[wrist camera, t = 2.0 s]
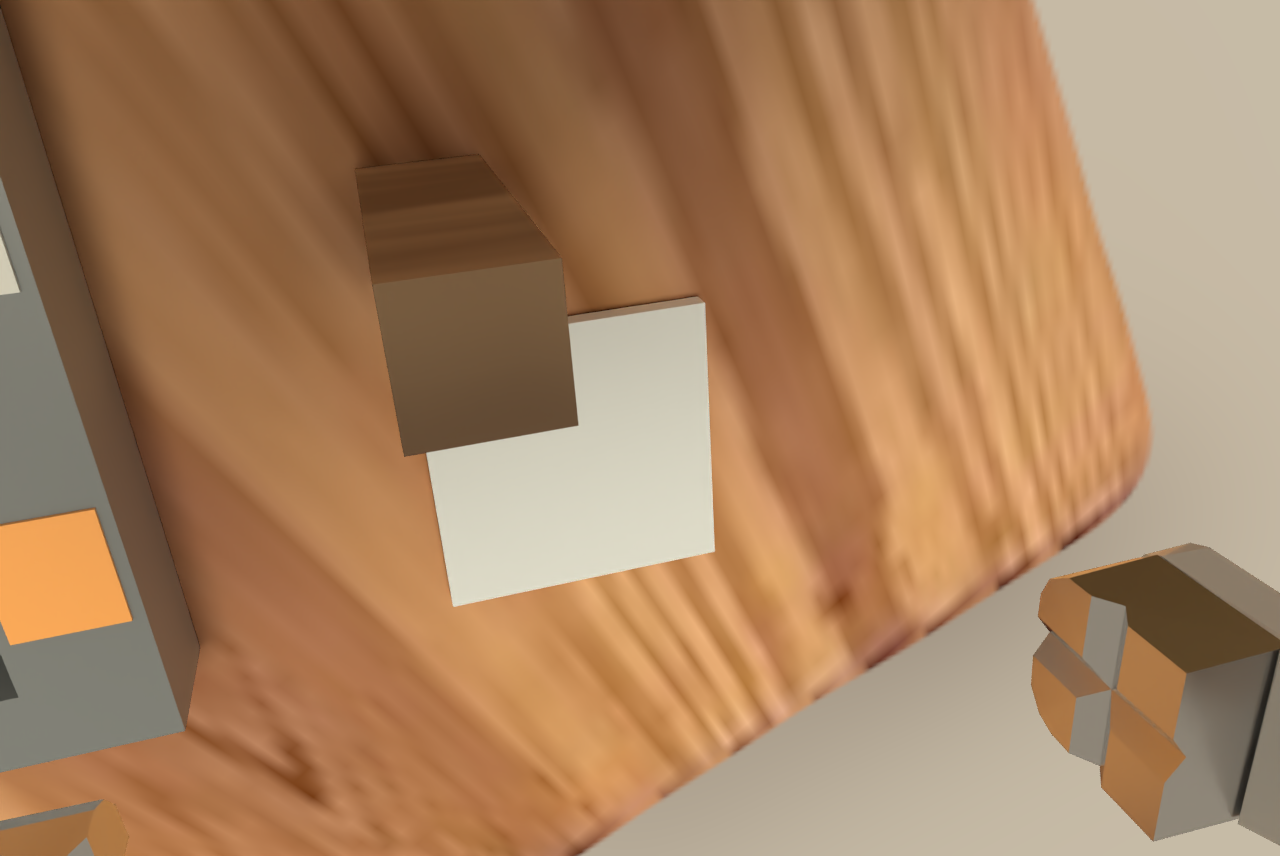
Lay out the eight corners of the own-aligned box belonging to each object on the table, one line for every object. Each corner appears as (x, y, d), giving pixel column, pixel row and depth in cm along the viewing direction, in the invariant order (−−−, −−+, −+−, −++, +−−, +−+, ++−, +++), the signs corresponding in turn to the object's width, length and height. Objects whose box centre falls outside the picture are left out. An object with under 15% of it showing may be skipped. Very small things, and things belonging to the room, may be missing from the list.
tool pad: (406, 341, 27) (408, 348, 26) (698, 296, 28) (705, 302, 28) (450, 595, 30) (453, 606, 30) (708, 541, 32) (714, 551, 31)
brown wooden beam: (354, 168, 25) (372, 284, 16) (479, 154, 25) (561, 257, 16) (376, 288, 26) (403, 456, 17) (494, 271, 26) (578, 425, 18)
